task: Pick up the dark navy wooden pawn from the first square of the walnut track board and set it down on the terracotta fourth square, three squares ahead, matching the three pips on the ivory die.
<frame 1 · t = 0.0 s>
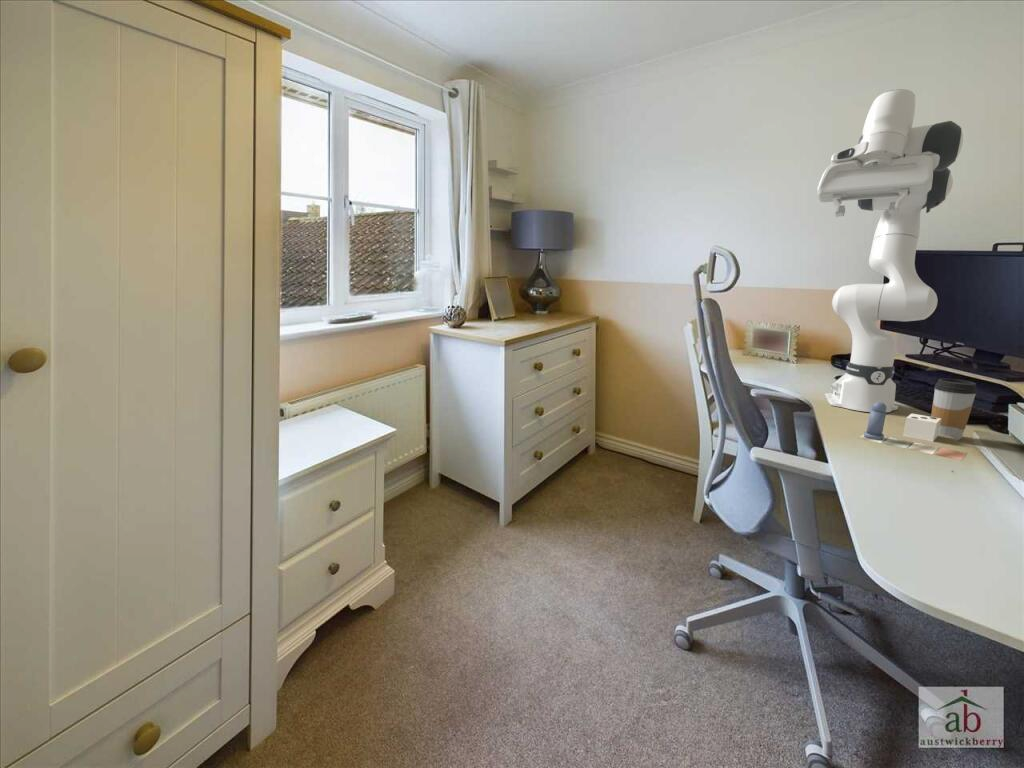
hand: (865, 213, 104), 54 cm above the table, tool tilted 30°, fingers open, 8 cm apart
track board: (909, 449, 118), on the table
coffee cup: (944, 437, 128), on the table
pawn: (873, 437, 124), point 1 cm above the table, touching track board
die: (919, 440, 125), on the table
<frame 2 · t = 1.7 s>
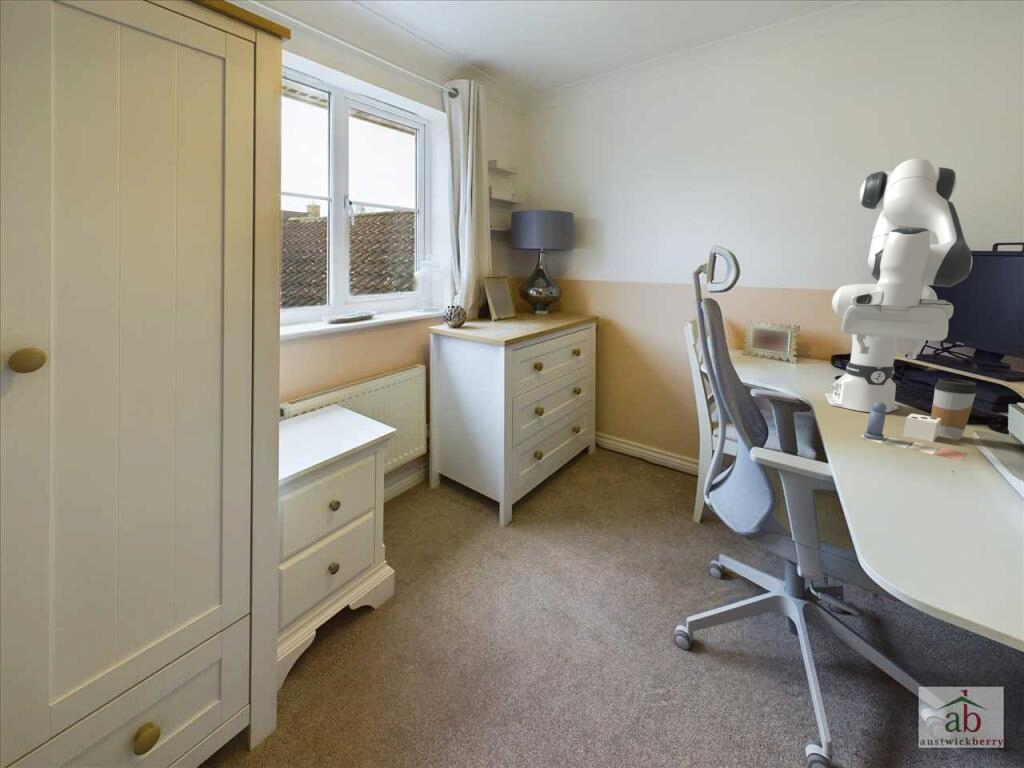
hand: (887, 356, 118), 22 cm above the table, tool pointing down, fingers open, 8 cm apart
nothing on the table moved.
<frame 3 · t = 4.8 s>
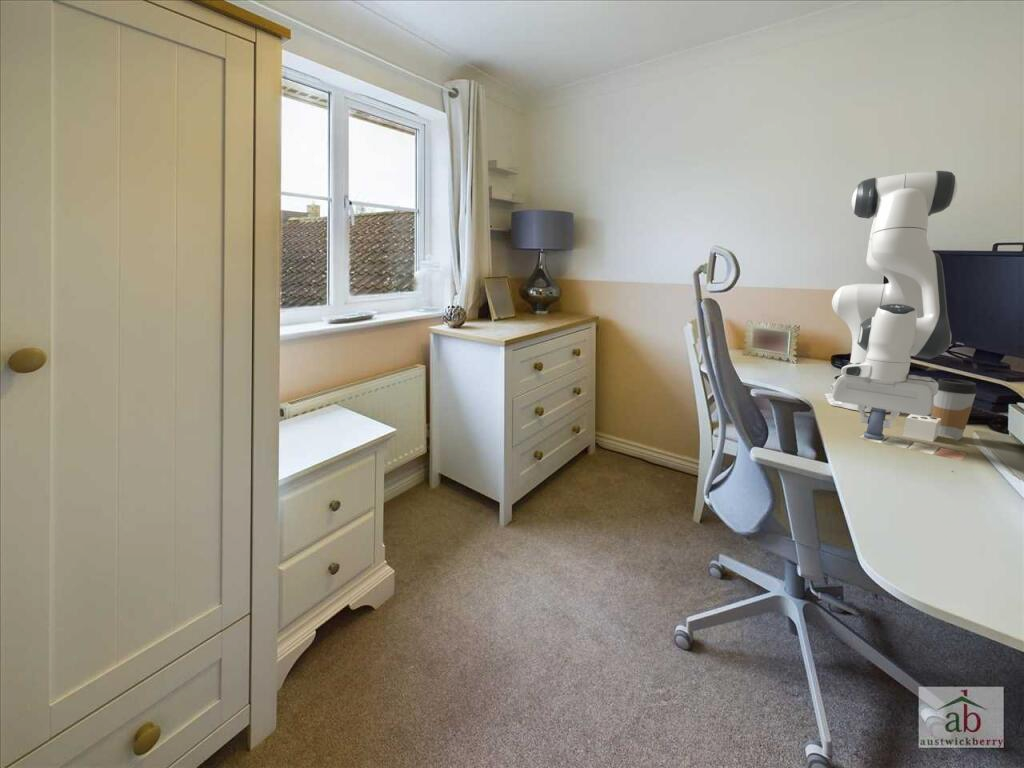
hand: (875, 425, 123), 4 cm above the table, tool pointing down, fingers closed on pawn, 3 cm apart
pawn: (873, 437, 124), point 1 cm above the table, touching gripper, track board
everything else where it was.
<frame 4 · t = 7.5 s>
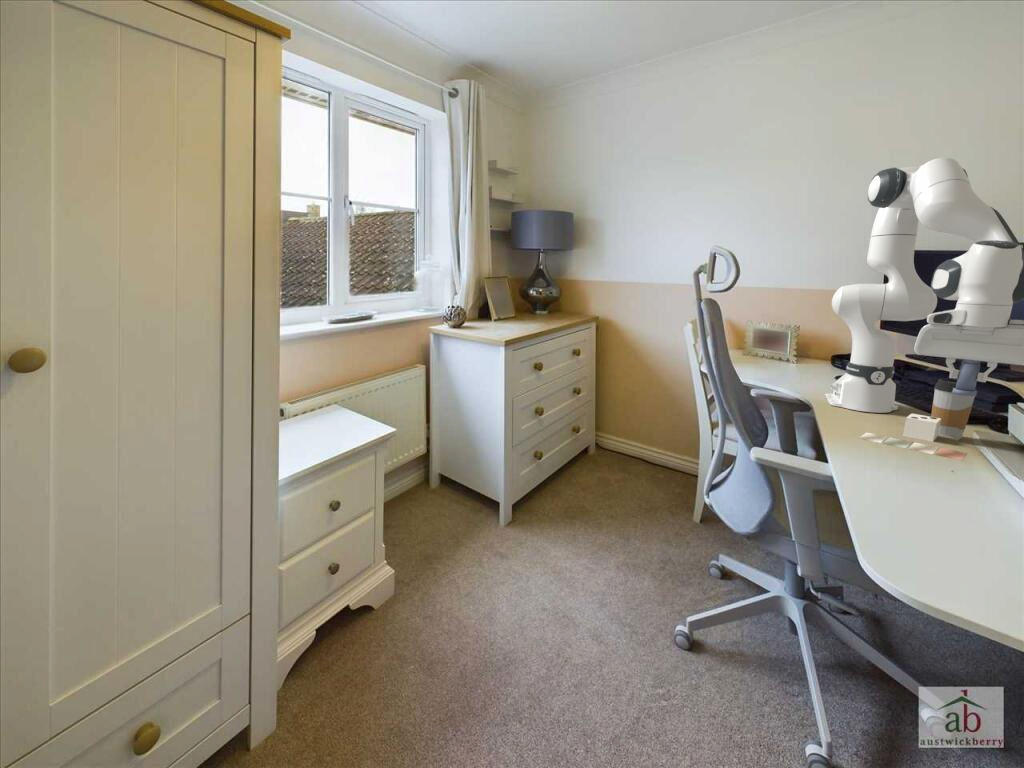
hand: (967, 379, 109), 19 cm above the table, tool pointing down, fingers closed on pawn, 3 cm apart
pawn: (963, 394, 109), point 15 cm above the table, touching gripper
everything else where it was.
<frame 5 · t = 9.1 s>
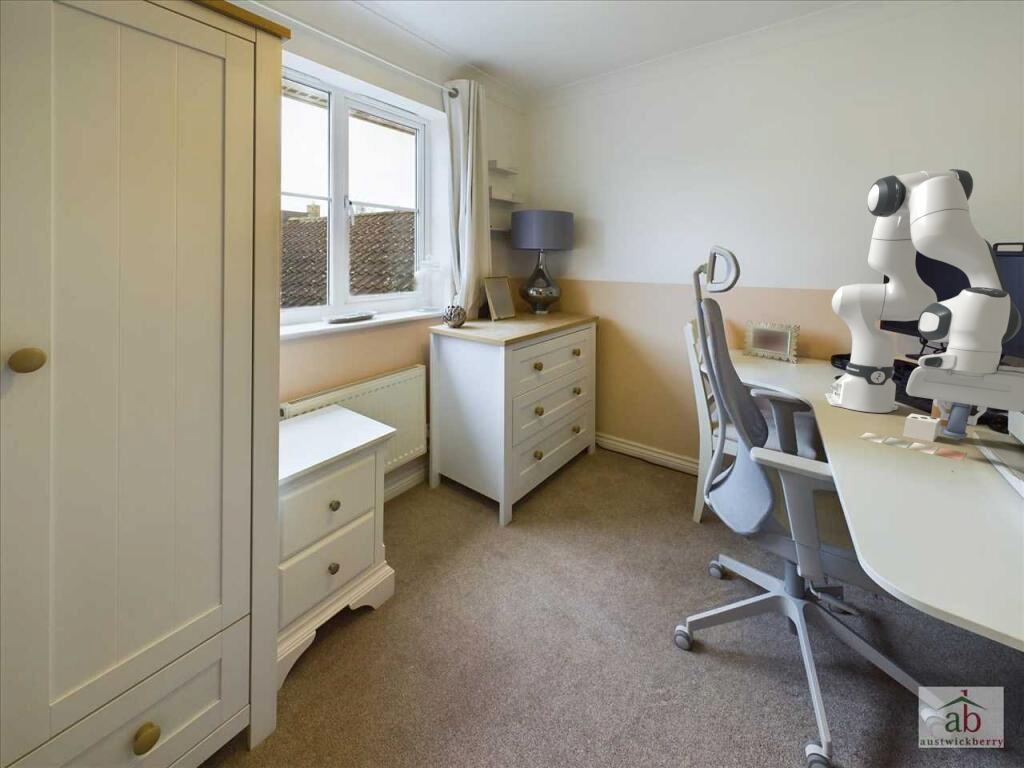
hand: (957, 422, 111), 9 cm above the table, tool pointing down, fingers closed on pawn, 3 cm apart
pawn: (954, 435, 111), point 6 cm above the table, touching gripper
everything else where it was.
when the fingers open (6 cm above the table, at t = 10.5 s): pawn drops 1 cm, resting on track board.
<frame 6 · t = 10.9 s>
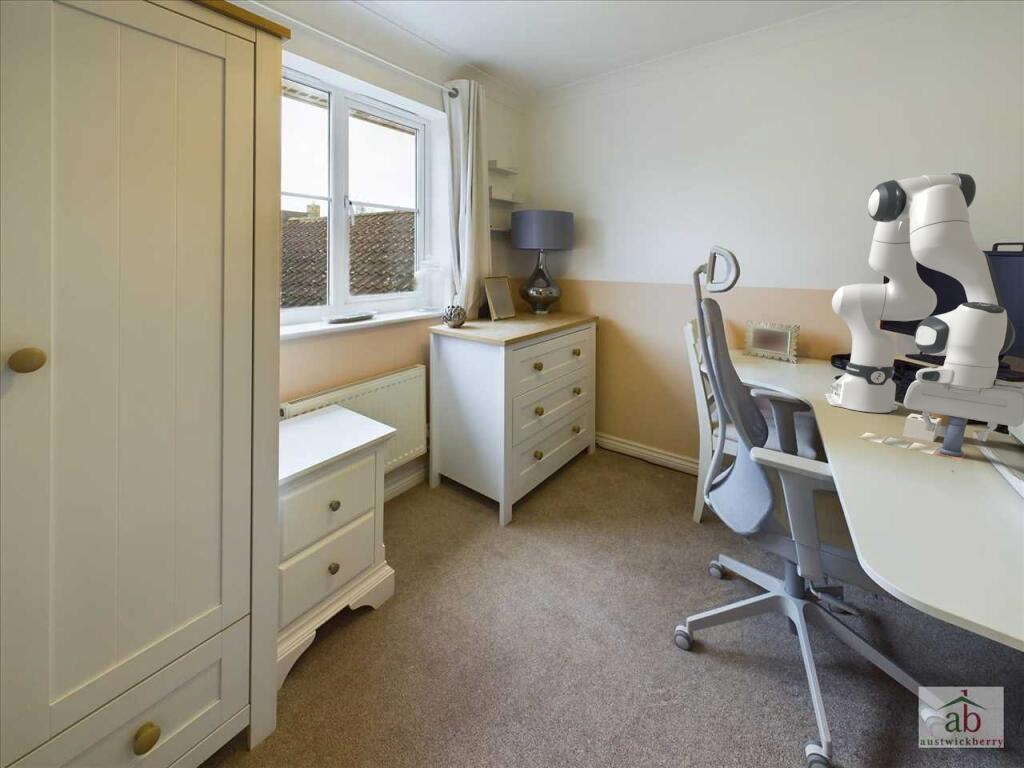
hand: (954, 435, 112), 6 cm above the table, tool pointing down, fingers open, 8 cm apart
pawn: (950, 453, 113), point 1 cm above the table, touching track board
everything else where it was.
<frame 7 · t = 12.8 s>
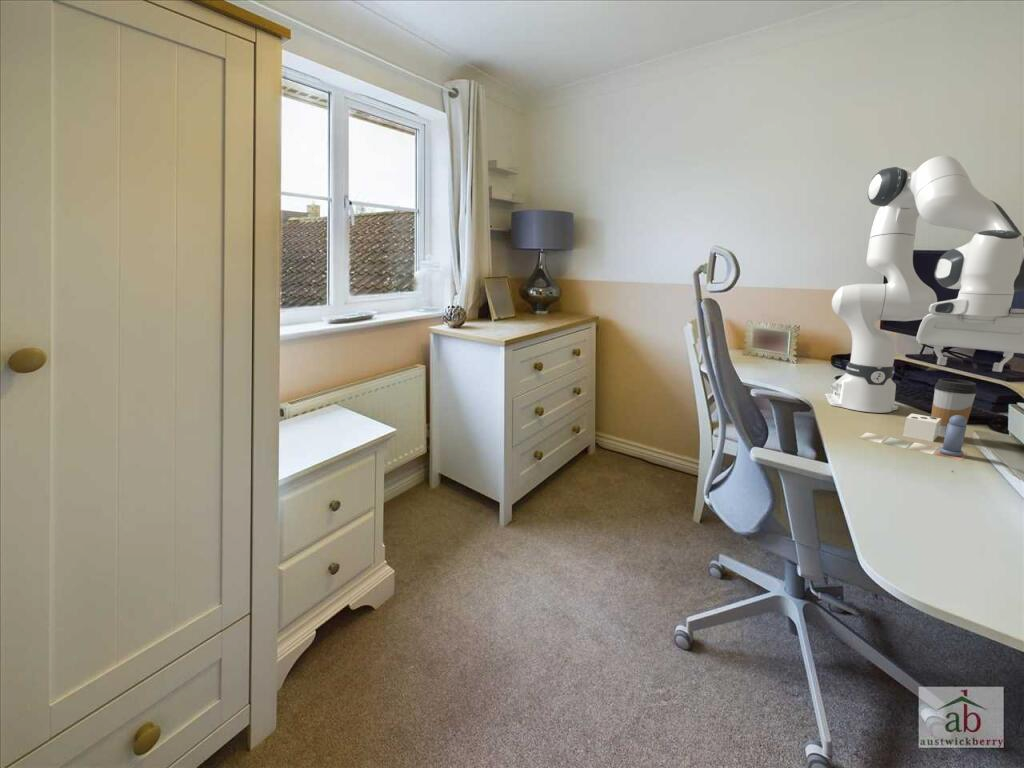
hand: (968, 367, 111), 21 cm above the table, tool pointing down, fingers open, 8 cm apart
nothing on the table moved.
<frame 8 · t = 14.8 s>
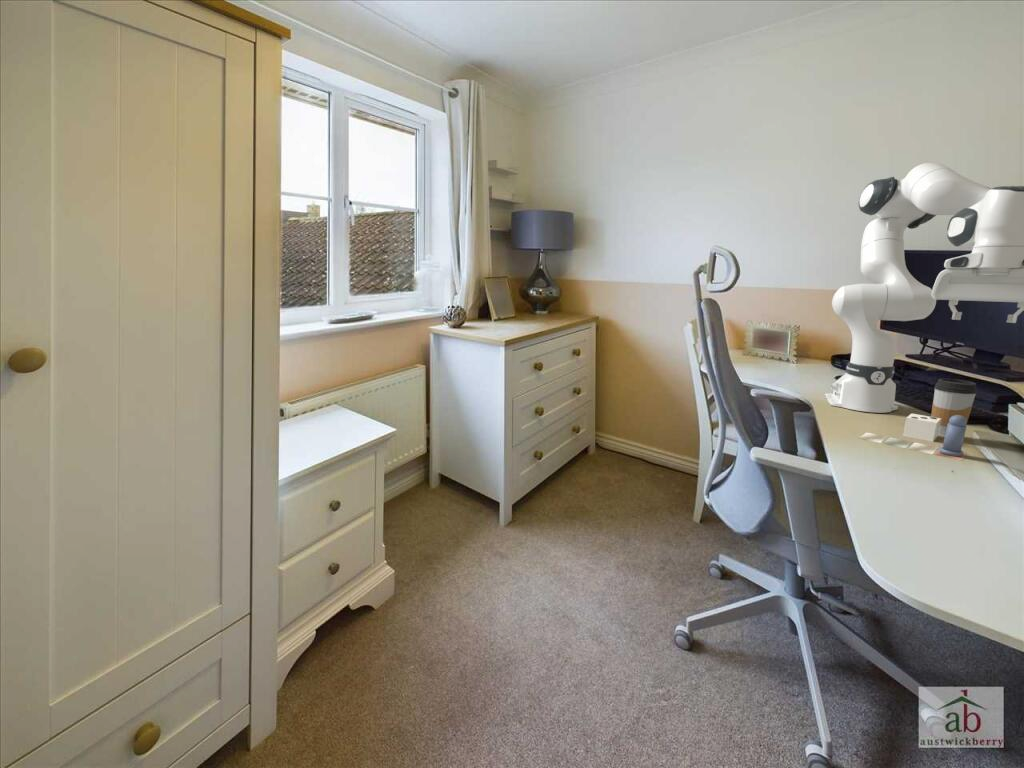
hand: (982, 321, 114), 31 cm above the table, tool pointing down, fingers open, 8 cm apart
nothing on the table moved.
at the end: pawn 0.1 cm from the target spot, point 1.2 cm above the table; pawn tilted 0°; the gripper is holding nothing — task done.
